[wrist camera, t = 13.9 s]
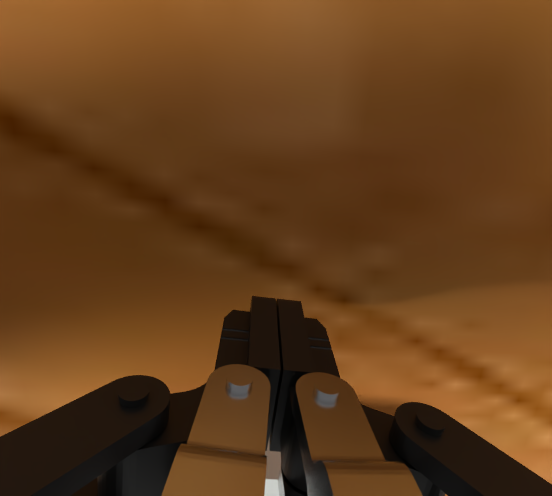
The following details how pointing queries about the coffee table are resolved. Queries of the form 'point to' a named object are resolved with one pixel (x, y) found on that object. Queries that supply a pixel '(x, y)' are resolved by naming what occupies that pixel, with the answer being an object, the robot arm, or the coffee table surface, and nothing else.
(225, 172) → the coffee table surface
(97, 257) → the coffee table surface
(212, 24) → the coffee table surface
